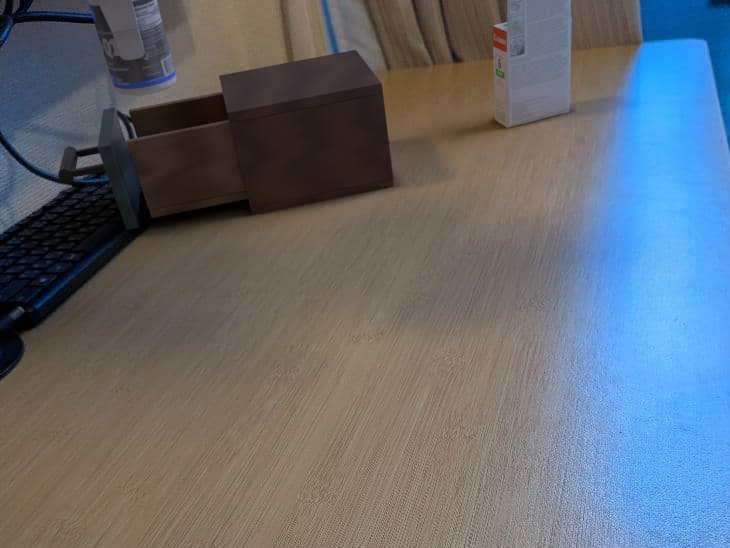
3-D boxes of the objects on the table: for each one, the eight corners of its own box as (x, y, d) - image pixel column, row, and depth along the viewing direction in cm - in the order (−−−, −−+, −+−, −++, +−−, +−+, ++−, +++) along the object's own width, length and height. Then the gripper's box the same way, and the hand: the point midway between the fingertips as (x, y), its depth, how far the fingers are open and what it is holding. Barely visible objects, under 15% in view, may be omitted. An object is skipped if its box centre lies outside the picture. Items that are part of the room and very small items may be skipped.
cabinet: (252, 216, 83) (227, 112, 76) (242, 171, 93) (218, 75, 86) (394, 188, 84) (382, 83, 77) (369, 145, 94) (356, 49, 87)
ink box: (493, 122, 95) (488, -29, 85) (555, 106, 97) (557, -44, 87) (507, 130, 93) (504, -24, 82) (570, 114, 94) (574, -39, 84)
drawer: (77, 240, 81) (44, 157, 76) (84, 194, 90) (55, 118, 85) (260, 203, 83) (241, 119, 77) (250, 162, 92) (232, 84, 86)
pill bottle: (104, 92, 62) (60, -41, 57) (154, 74, 65) (118, -55, 59) (139, 100, 60) (97, -38, 54) (190, 81, 62) (156, -53, 56)
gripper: (29, -202, 58) (99, 23, 68) (-16, -195, 43) (82, 91, 53) (118, -214, 58) (176, 11, 68) (104, -212, 44) (179, 74, 53)
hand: (134, 47), depth 60 cm, fingers closed on pill bottle, 5 cm apart
